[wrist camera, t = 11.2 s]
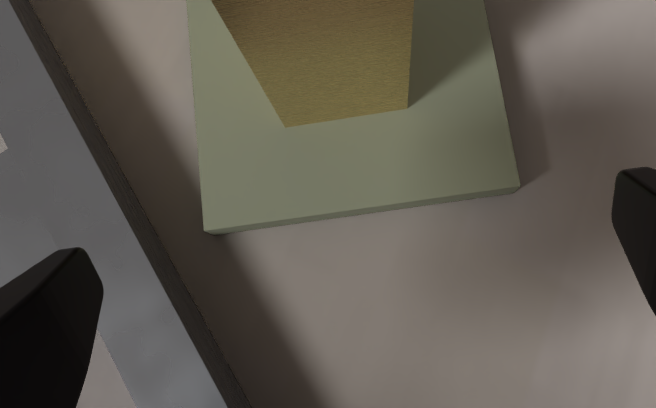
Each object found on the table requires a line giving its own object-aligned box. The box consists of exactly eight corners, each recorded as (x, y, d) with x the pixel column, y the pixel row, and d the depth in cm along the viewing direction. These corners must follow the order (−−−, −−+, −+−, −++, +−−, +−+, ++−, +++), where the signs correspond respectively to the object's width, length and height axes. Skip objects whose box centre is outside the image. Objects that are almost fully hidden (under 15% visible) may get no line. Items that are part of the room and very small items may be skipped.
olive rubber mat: (513, 192, 18) (520, 185, 17) (213, 235, 19) (203, 230, 18) (461, -76, 20) (464, -96, 19) (192, -27, 21) (182, -43, 20)
